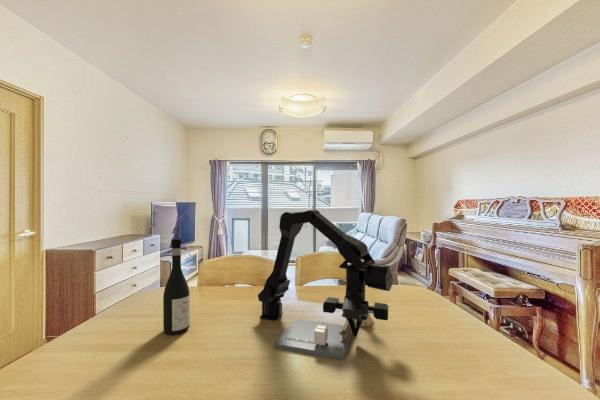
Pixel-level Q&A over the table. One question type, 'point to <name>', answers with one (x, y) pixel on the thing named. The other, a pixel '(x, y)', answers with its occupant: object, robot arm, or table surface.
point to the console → (302, 339)
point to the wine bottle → (176, 296)
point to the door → (345, 331)
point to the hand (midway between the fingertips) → (355, 336)
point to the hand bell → (366, 321)
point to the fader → (320, 335)
